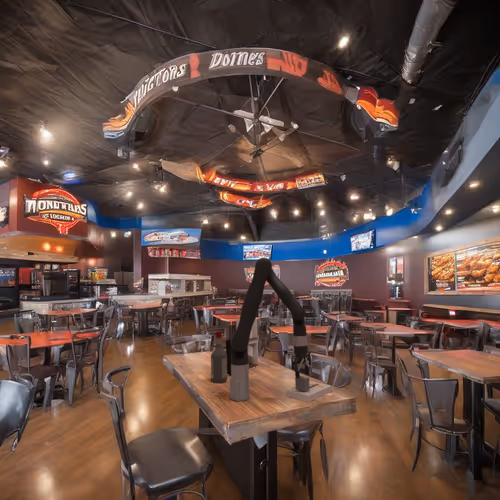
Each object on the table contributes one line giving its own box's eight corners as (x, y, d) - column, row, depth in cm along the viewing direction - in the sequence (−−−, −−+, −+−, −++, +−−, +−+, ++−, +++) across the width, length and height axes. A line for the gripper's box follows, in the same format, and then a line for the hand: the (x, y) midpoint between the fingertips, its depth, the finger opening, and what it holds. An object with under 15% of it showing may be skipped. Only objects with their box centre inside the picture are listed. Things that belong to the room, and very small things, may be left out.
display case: (237, 367, 225) (236, 319, 230) (246, 365, 234) (245, 318, 239) (249, 369, 219) (248, 319, 224) (258, 366, 227) (256, 318, 232)
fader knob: (305, 391, 157) (304, 378, 158) (295, 389, 161) (295, 376, 162) (309, 389, 160) (309, 377, 161) (300, 387, 164) (299, 375, 165)
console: (308, 402, 152) (308, 395, 152) (286, 396, 161) (286, 389, 162) (331, 391, 167) (331, 385, 167) (310, 386, 177) (309, 380, 177)
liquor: (227, 379, 196) (227, 331, 200) (225, 383, 187) (224, 332, 191) (213, 379, 197) (213, 331, 201) (210, 383, 188) (210, 332, 192)
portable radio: (232, 372, 213) (232, 335, 217) (239, 373, 210) (238, 335, 213) (224, 374, 207) (224, 336, 211) (231, 375, 204) (230, 337, 207)
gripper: (302, 341, 171) (304, 372, 169) (286, 345, 161) (288, 378, 159) (313, 342, 166) (316, 374, 164) (298, 346, 156) (300, 380, 154)
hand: (302, 376), depth 161 cm, fingers open, 8 cm apart
